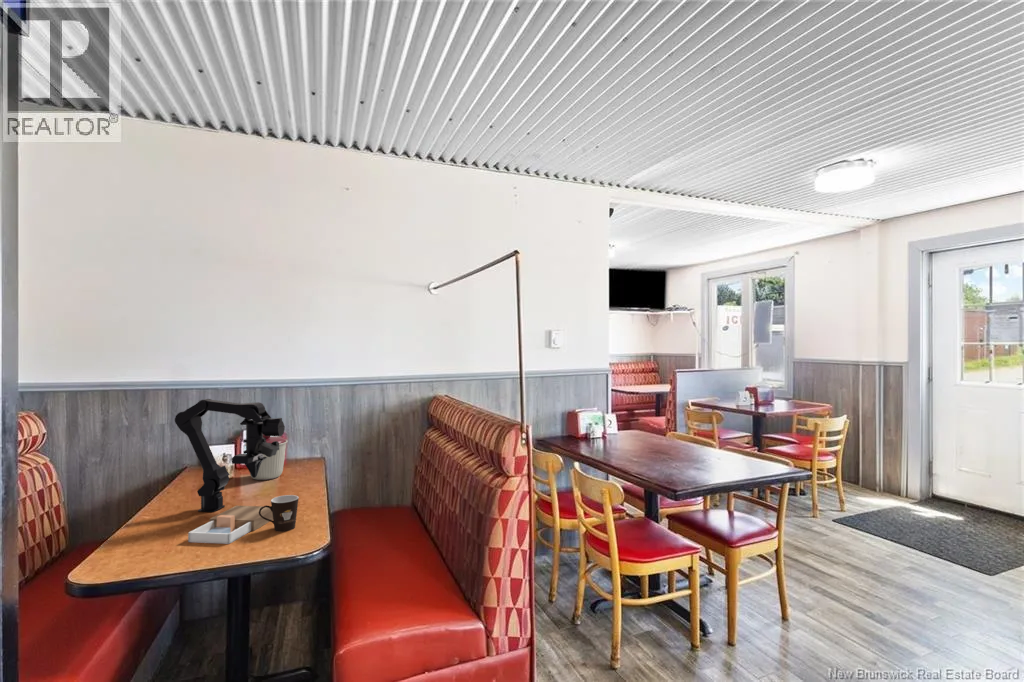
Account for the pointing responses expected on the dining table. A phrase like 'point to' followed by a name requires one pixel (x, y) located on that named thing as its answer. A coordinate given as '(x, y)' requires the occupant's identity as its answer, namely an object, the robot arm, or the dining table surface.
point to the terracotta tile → (226, 521)
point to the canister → (272, 461)
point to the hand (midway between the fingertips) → (254, 477)
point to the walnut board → (247, 516)
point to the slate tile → (220, 530)
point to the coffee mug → (283, 512)
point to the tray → (216, 534)
